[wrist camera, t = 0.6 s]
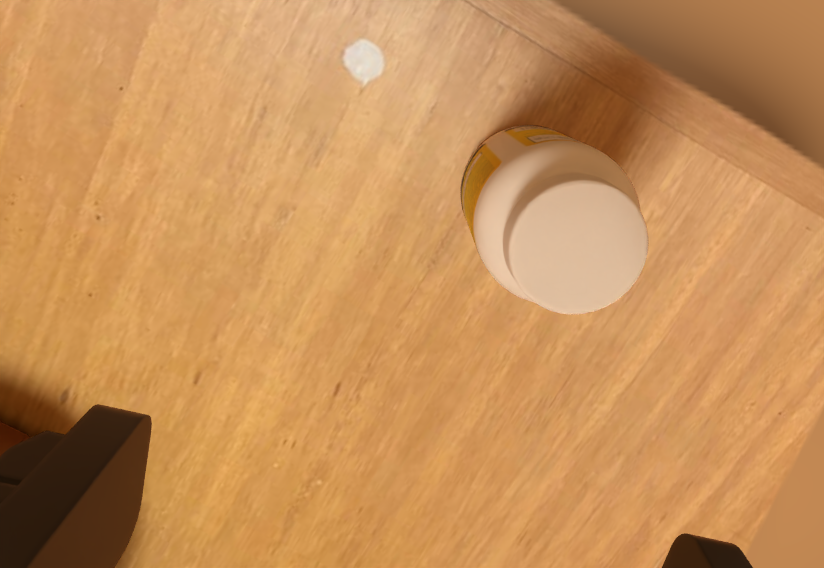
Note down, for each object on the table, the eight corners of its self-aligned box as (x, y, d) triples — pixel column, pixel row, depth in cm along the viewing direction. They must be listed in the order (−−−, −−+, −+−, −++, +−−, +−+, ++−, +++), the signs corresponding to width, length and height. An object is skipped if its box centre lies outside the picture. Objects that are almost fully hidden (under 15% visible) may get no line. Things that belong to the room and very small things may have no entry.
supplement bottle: (496, 273, 29) (533, 368, 20) (436, 164, 28) (446, 212, 19) (609, 213, 29) (703, 284, 19) (554, 98, 27) (626, 113, 18)
